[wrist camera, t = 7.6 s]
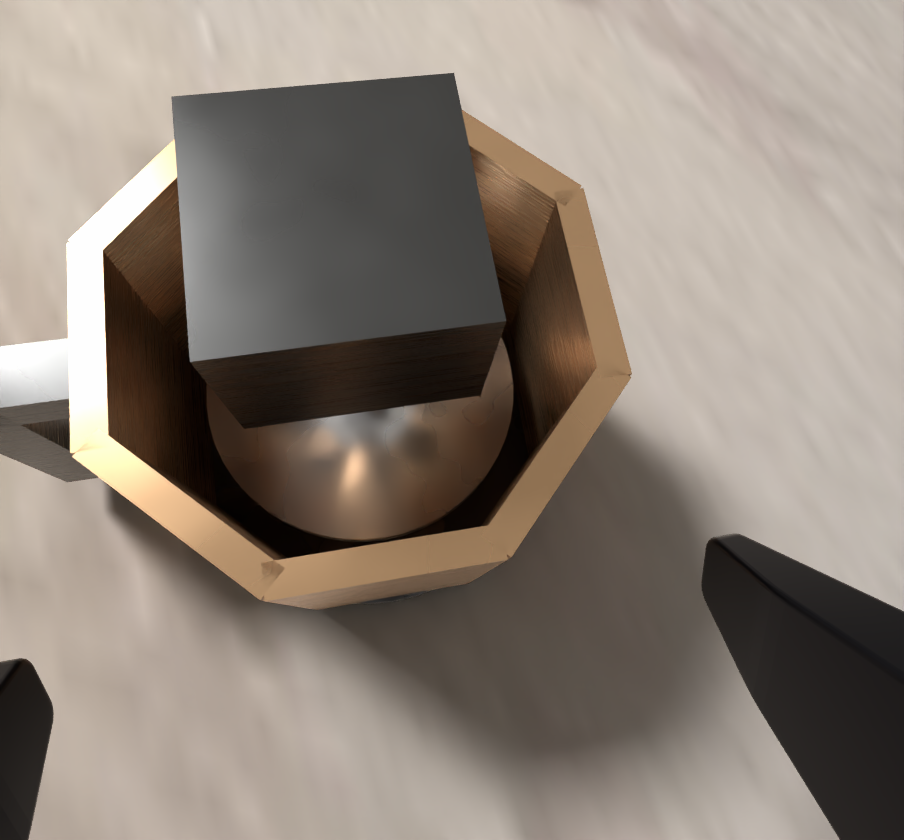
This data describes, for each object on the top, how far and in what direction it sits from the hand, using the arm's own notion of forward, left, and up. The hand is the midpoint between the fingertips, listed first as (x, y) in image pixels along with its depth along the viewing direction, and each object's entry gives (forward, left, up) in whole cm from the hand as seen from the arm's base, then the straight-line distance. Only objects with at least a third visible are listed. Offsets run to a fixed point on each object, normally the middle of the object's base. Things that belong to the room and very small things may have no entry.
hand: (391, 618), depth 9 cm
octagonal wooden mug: (+5, -3, -9) cm, 11 cm away
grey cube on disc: (+4, -4, -6) cm, 8 cm away
